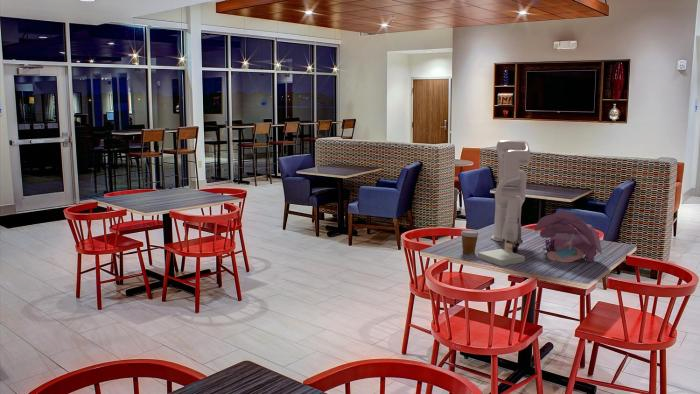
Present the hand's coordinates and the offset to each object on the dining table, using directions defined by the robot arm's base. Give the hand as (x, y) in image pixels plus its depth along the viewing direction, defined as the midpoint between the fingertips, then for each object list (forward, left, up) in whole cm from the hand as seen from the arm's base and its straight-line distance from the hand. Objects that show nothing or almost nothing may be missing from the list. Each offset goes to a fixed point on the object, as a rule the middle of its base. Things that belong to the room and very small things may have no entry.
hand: (510, 252), depth 341 cm
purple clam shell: (-20, +21, -1) cm, 29 cm away
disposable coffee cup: (+20, -12, -1) cm, 23 cm away
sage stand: (+15, +7, -1) cm, 17 cm away
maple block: (0, 0, -1) cm, 1 cm away
